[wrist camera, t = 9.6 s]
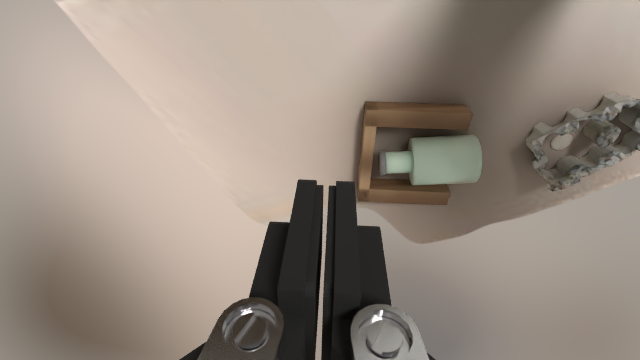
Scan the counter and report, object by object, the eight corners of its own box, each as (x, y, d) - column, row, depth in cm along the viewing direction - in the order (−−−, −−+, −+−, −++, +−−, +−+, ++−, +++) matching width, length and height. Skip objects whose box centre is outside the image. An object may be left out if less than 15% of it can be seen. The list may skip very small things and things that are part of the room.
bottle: (466, 131, 38) (377, 136, 39) (483, 138, 33) (381, 144, 34) (463, 175, 40) (378, 179, 41) (480, 188, 35) (382, 192, 36)
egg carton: (530, 175, 41) (547, 196, 37) (518, 123, 37) (536, 141, 34) (633, 141, 37) (662, 160, 34) (631, 81, 34) (663, 95, 31)
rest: (365, 101, 36) (366, 109, 34) (465, 104, 36) (472, 113, 34) (357, 189, 43) (357, 201, 41) (441, 193, 42) (446, 205, 40)
